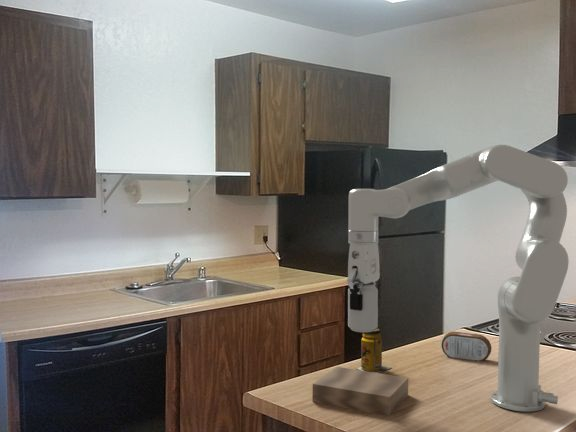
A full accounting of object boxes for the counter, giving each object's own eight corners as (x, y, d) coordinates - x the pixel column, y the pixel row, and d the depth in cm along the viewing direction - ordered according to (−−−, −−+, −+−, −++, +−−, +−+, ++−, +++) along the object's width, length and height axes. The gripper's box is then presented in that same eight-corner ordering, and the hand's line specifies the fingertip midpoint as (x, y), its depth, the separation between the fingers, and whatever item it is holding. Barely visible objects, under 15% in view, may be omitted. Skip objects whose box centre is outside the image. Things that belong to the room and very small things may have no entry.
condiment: (354, 369, 178) (355, 329, 178) (372, 363, 184) (373, 324, 183) (374, 374, 173) (374, 333, 172) (392, 368, 179) (392, 328, 178)
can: (358, 324, 158) (358, 279, 157) (383, 329, 153) (383, 282, 152) (342, 330, 152) (342, 283, 151) (367, 334, 147) (367, 286, 147)
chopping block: (408, 396, 156) (408, 377, 156) (389, 417, 142) (389, 397, 142) (336, 384, 165) (337, 366, 165) (312, 403, 151) (312, 383, 151)
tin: (491, 361, 187) (491, 334, 186) (490, 364, 184) (490, 337, 183) (442, 355, 193) (442, 329, 193) (440, 358, 190) (440, 332, 190)
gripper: (363, 241, 142) (362, 314, 143) (390, 235, 157) (389, 302, 158) (334, 239, 146) (334, 311, 147) (363, 234, 161) (363, 300, 162)
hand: (362, 306), depth 152 cm, fingers closed on can, 7 cm apart
